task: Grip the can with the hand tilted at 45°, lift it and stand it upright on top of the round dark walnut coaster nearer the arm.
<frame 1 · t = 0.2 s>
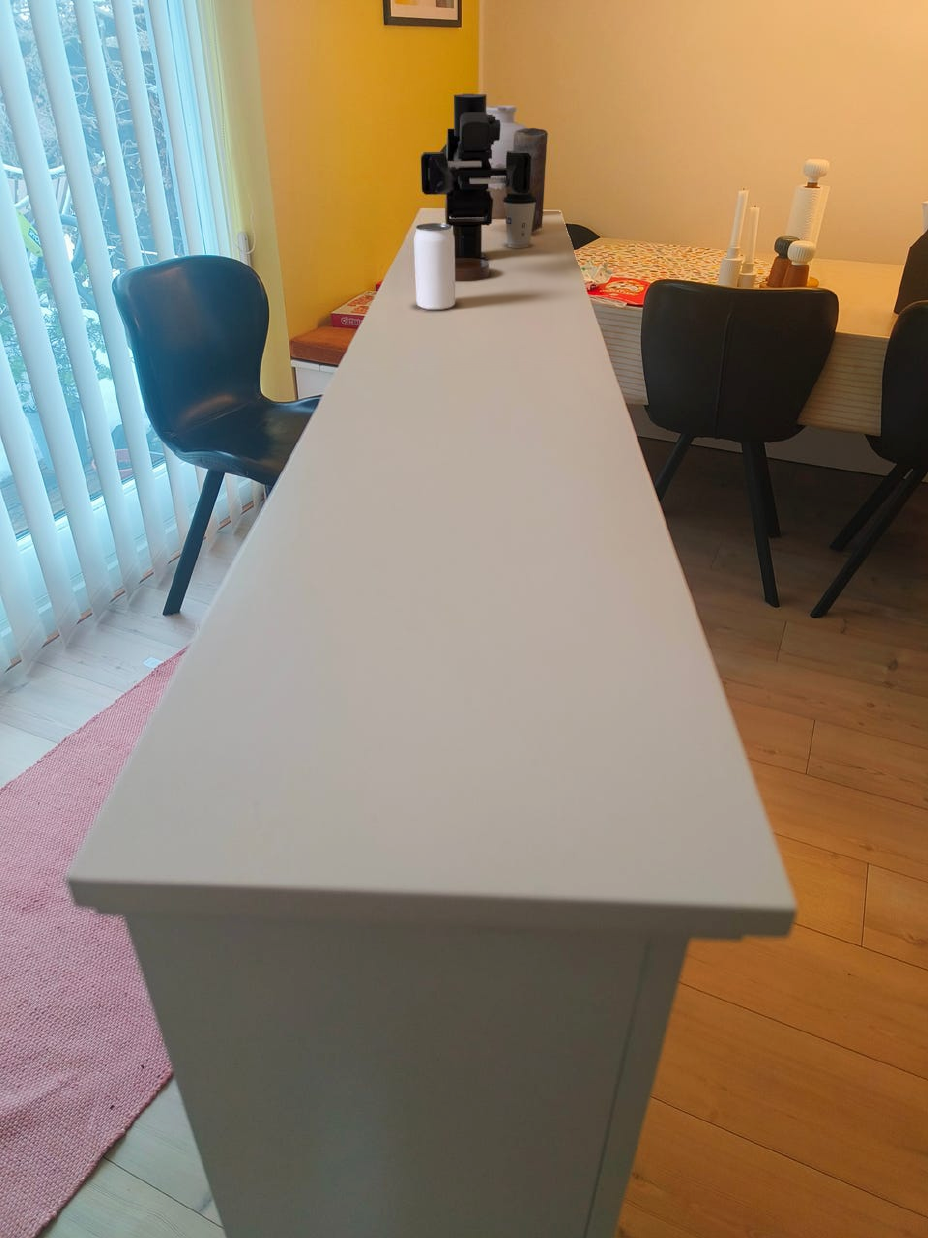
hand: (480, 183, 134), 17 cm above the sideboard, tool horizontal, fingers open, 9 cm apart
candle: (526, 232, 185), on the sideboard
can: (436, 306, 135), on the sideboard
coffee cup: (518, 246, 173), on the sideboard
vase: (499, 215, 202), on the sideboard
coaster: (464, 274, 152), on the sideboard
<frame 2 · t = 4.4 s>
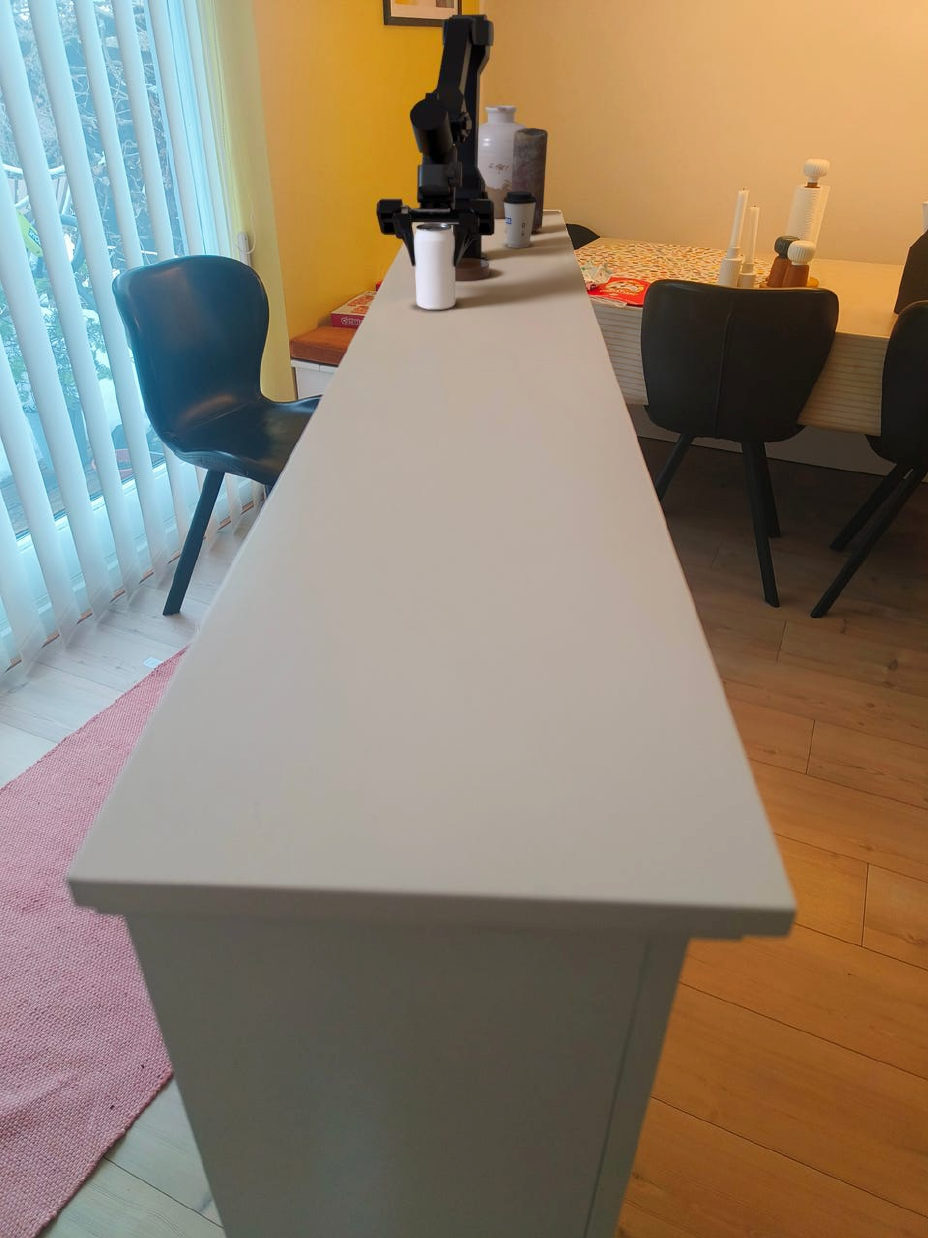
hand: (433, 264, 130), 7 cm above the sideboard, tool tilted 45°, fingers closed on can, 6 cm apart
can: (436, 306, 135), on the sideboard, touching gripper
everything else where it was.
when the fingers open (9 cm above the sideboard, at t = 11.8 s): can stays where it is, resting on coaster.
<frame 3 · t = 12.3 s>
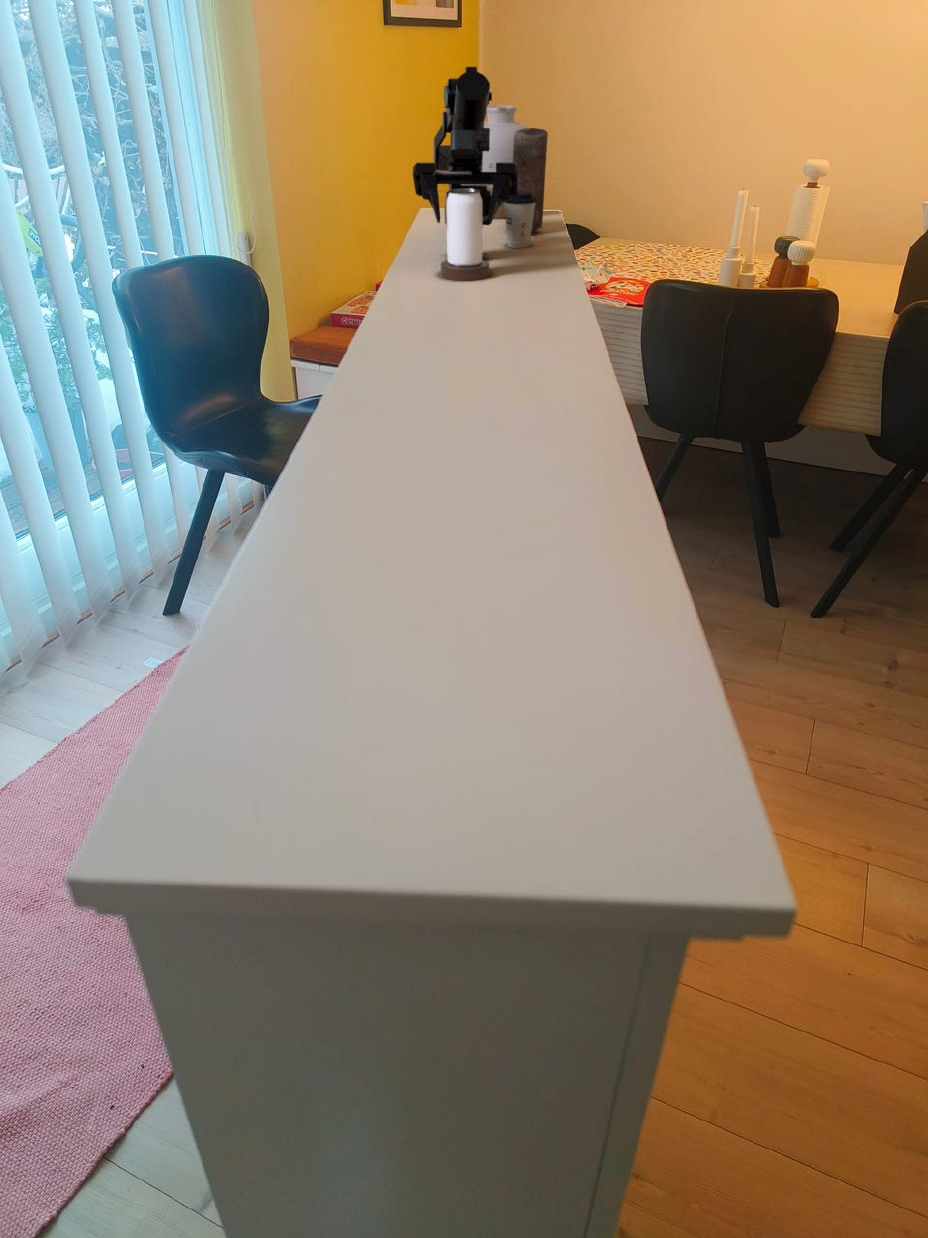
hand: (464, 221, 146), 9 cm above the sideboard, tool tilted 45°, fingers open, 9 cm apart
can: (464, 264, 151), point 2 cm above the sideboard, touching coaster
coaster: (464, 274, 152), on the sideboard, touching can
everything else where it was.
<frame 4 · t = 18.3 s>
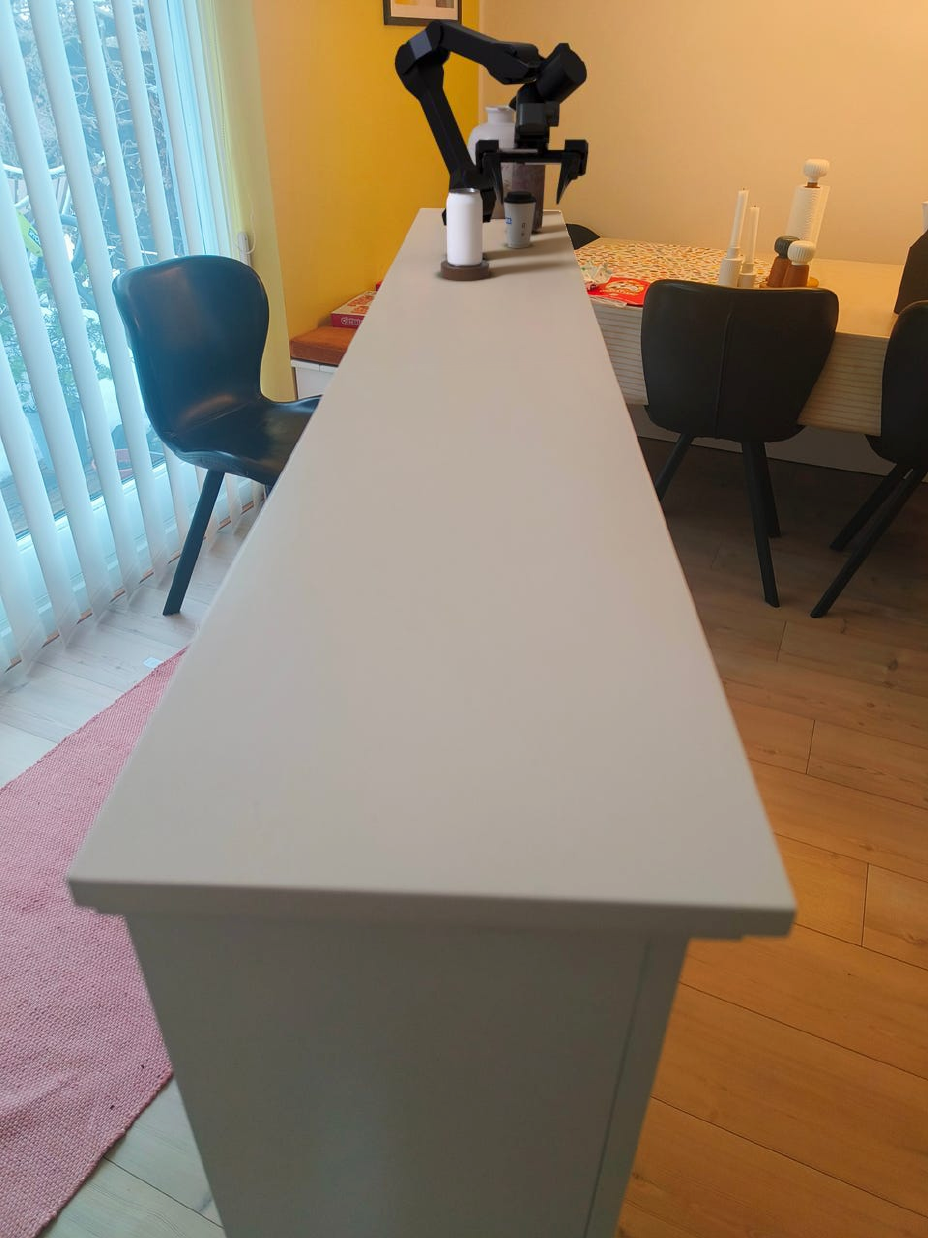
hand: (529, 202, 136), 14 cm above the sideboard, tool tilted 45°, fingers open, 9 cm apart
nothing on the sideboard moved.
at the end: can 0.1 cm off-centre on the coaster, point 1.8 cm above the coaster's base; can tilted 0°; the gripper is holding nothing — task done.
